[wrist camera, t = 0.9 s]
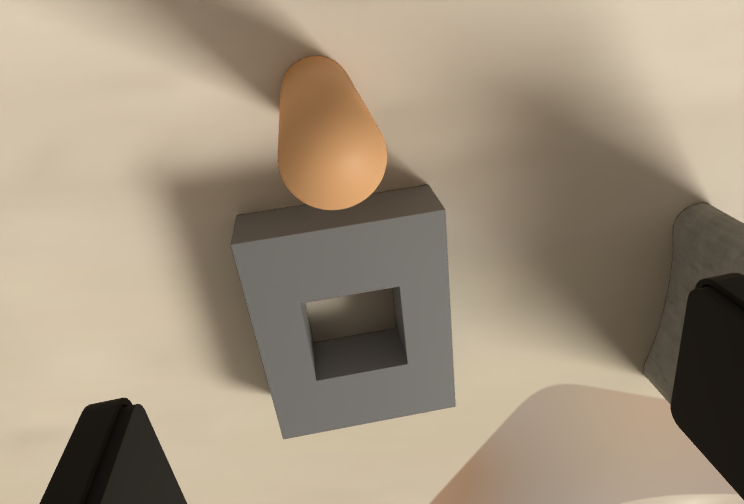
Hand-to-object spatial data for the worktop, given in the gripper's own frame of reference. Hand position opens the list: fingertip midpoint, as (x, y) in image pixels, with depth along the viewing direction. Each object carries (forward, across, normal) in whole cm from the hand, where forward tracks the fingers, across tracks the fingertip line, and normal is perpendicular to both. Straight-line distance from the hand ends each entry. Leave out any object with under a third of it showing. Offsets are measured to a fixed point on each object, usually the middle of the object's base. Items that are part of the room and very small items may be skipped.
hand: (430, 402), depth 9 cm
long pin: (+24, 0, -1) cm, 24 cm away
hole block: (+24, +1, +13) cm, 28 cm away
